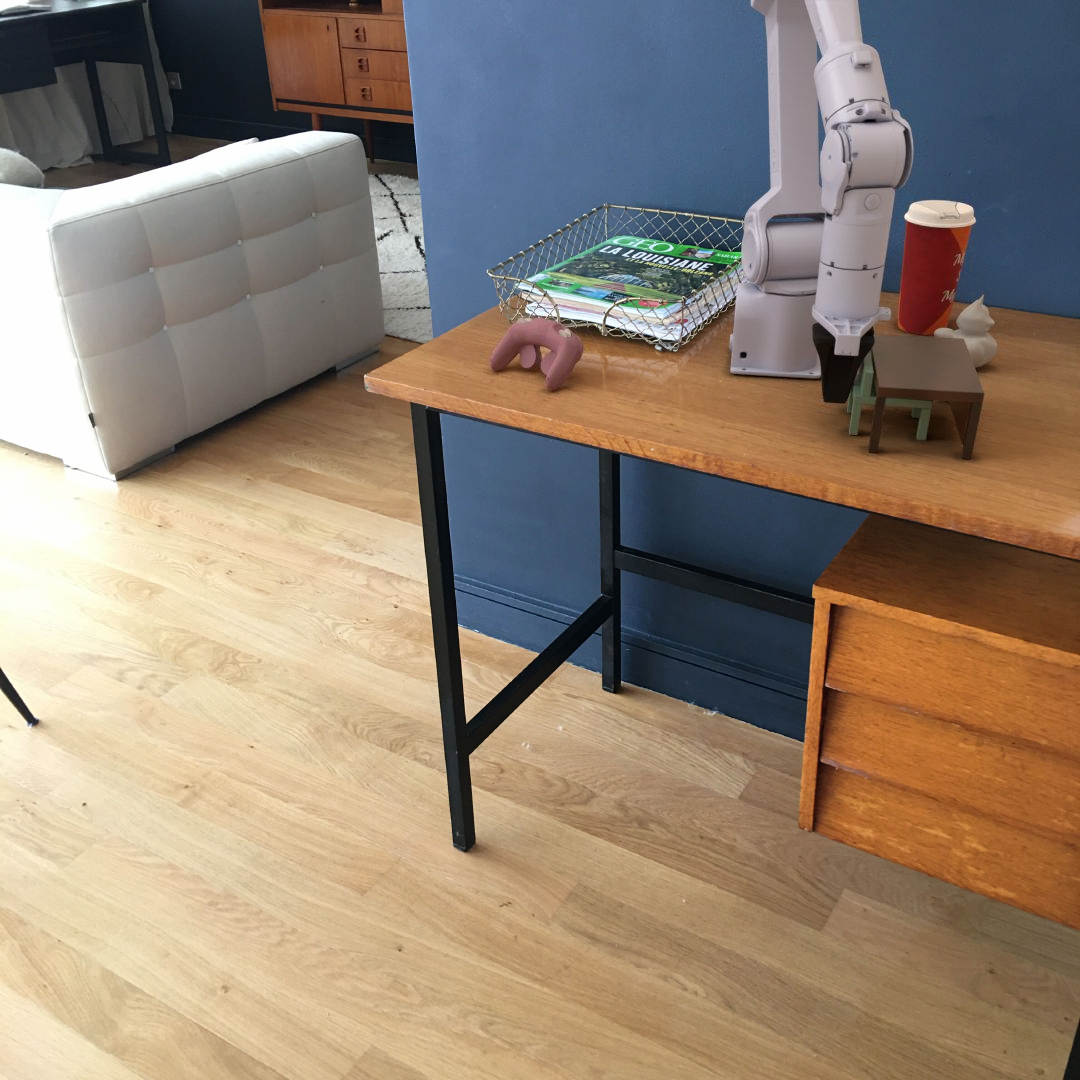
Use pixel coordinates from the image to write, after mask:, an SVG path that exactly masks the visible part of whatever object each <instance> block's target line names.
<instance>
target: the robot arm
mask: <svg viewBox="0 0 1080 1080" xmlns="http://www.w3.org/2000/svg"><path fill="white" fill-rule="evenodd" d="M750 7H751V8H752V9H754V10H755V11H757V12H758V13H760V14H761V15H763V16H764V22H765V32H766V33H765V34H766V47H767V48H766V53H767V56H766V57H767V87H768V89H767V92H768V93H767V94H768V95H767V96H768V134H769V137H768V138H769V176H770V178H769V179H770V188H769V190H768V191H766V192H765V194H763V195H762V196H761V197H760V198H758V200H757V201H756V202H754V203H753V204H752V205H751V206H750V207H749V208H748V209H747V211H746V213H745V216H744V219H743V236H742V240H741V247H740V248H741V250H740V251H741V253H740V256H741V258H740V259H741V267H742V271H743V275H744V276H745V278H746V280H748V281H749V282H738V283H737V287H736V295H735V304H734V305H735V306H734V318H733V330H732V331H733V333H730V336H729V346H728V347H729V349H728V350H729V351H730V352H731V356H730V357H731V358H730V368H729V369H730V371H729V372H730V374H733V375H745V376H746V375H747V376H748V375H749V376H761V377H762V376H766V377H783V378H796V379H798V378H799V379H814V380H817V379H820V380H821V393H822V400H823V403H825V404H838V405H839V404H841V405H845V404H846V403H847V402H848V399H849V394H850V392H851V389H852V386H853V383H854V380H855V377H856V374H857V373H859V367H860V365H861V363H862V362H863V360H864V358H865V357H866V356H867V354H868V353H869V352H870V350H871V349H872V347H873V345H874V343H875V338H874V336H873V335H874V334H875V329H874V325H876V324H877V322H880V321H881V322H889V321H890V320H891V318H892V310H891V308H890V307H887V306H880V302H881V301H880V300H881V293H882V285H883V279H884V273H885V266H886V258H887V252H888V245H889V238H890V237H889V236H890V232H891V225H892V217H893V212H894V211H893V209H894V203H895V197H896V190H899V189H901V188H903V187H904V186H905V185H906V183H907V182H908V180H909V178H910V175H911V173H912V172H911V171H912V169H913V163H914V138H913V132H912V128H911V126H910V124H909V122H908V121H907V120H906V119H905V118H903V117H902V116H901V113H900V111H899V110H898V109H893V108H892V107H891V103H890V98H889V93H888V89H887V84H886V81H885V80H886V79H885V76H884V72H883V68H882V64H881V63H882V62H881V59H880V54H879V52H878V51H877V50H876V49H875V48H874V47H873V46H871V45H869V44H866V43H864V41H863V32H862V24H861V15H860V8H859V7H860V6H859V0H750ZM818 47H819V51H820V54H821V58H820V60H819V61H818ZM818 105H819V106H818ZM819 109H820V114H821V119H822V124H823V130H824V133H825V134H824V135H825V138H824V140H823V144H822V147H821V150H820V151H819V146H820V145H819ZM819 152H820V153H819ZM819 154H820V155H819ZM820 178H821V185H820ZM803 218H804V219H805V218H807V219H811V220H796V221H795V220H793V221H777V222H776V221H775V222H774V221H773V222H769V221H771V220H785V219H786V220H787V219H803Z"/></svg>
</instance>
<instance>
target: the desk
mask: <svg viewBox="0 0 1080 1080" xmlns="http://www.w3.org/2000/svg"><path fill="white" fill-rule="evenodd" d="M873 336H874V338H875V343H874V345H873V347H872V349H871V350H870V352H871V359H872V365H873V372H874V381H875V387H876V400H875V405H873V406H874V408H873V413H872V420H871V427H870V433H869V440H868V446H867V450H868V453H872V454H878V452H879V445H880V439H881V432H882V426H883V420H884V414H885V407H886V406H885V401H886V397H888V398H904V399H921V400H932V401H937V402H939V401H940V402H946V403H949V407H950V410H951V414H952V417H953V421H954V424H955V426H956V427H955V428H956V430H957V433H958V437H959V440H960V443H961V446H962V448H961V453H960V456H961V459H962V460H972V458H973V453H974V448H975V443H976V437H977V433H978V427H979V424H980V423H979V422H980V418H981V413H982V408H983V402H984V398H985V391H984V388H983V386H982V383H981V381H980V378H979V375H978V373H977V370H976V368H975V367H974V364H973V362H972V359H971V356H970V354H969V351H968V348H967V346H966V343H965V340H964V339H961V338H941V337H934V336H923V335H922V336H919V335H899V334H881V333H880V334H879V333H874V335H873Z"/></svg>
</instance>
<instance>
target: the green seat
mask: <svg viewBox="0 0 1080 1080" xmlns="http://www.w3.org/2000/svg"><path fill="white" fill-rule="evenodd" d="M875 400H876V387H875V381H874V372H873V365H872V359H871V352H869V353H868V354H867V356H866V357H865V358H864V360H863V362H862V363H861V365H860V367H859V370H858V372H857V374H856V377H855V380H854V383H853V386H852V389H851V392H850V394H849V397H848V399H847V406H846V413H847V414H850V420H849V421H850V422H849V427H848V435H850V436H858V435H859V429H860V422H861V416H862V410H863V405H869V406H870V405H871V406H875ZM933 402H934V400H921V399H904V398H888V397H886V401H885V407H899V408H900V407H901V408H912V409H911V417H912V418H915V419H918V424H917V428H916V429H917V430H916V440H917V441H927V435H928V430H929V424H930V419H931V413H932V408H933V404H934V403H933Z"/></svg>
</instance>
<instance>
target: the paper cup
mask: <svg viewBox="0 0 1080 1080" xmlns="http://www.w3.org/2000/svg"><path fill="white" fill-rule="evenodd" d="M908 207H909V208H908V210H907V212H905V214H904V216H903V217H904V220H905V221H906V222H905V223H906V224H905V235H904V244H903V253H902V254H903V255H902V267H901V277H900V288H899V296H898V297H899V298H898V300H899V301H898V309H897V328H898V329H900V330H901V331H903V332H906V333H910V334H915V335H922V336H932V335H933V336H934V332H935V331H936V330H937V329H939V328H948V324H949V321H950V317H951V313H952V310H953V305H954V302H955V297H956V293H957V290H958V285H959V281H960V277H961V272H962V269H963V264H964V260H965V256H966V252H967V247H968V244H969V239H970V235H971V230H972V227H973V226H974V224H976V222H977V219H976V217H975V215H974V214H975V210H974V207H973V206H971V205H969V204H967V203H963V202H958V201H952V200H942V199H941V200H940V199H928V200H919V201H916V202H915V201H914V202H912V203H911V204H910V205H909V206H908Z"/></svg>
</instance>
